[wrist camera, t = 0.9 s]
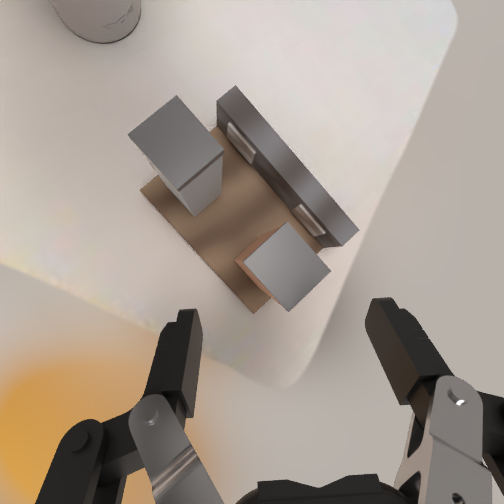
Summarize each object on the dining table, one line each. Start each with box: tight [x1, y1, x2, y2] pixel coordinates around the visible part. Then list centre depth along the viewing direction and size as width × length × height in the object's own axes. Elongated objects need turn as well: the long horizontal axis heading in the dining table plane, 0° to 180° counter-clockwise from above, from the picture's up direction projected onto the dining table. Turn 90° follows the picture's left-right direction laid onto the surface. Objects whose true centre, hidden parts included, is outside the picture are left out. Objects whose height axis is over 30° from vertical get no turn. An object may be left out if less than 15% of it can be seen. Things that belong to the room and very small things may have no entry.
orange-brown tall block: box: [234, 221, 331, 312], centre depth 24 cm, size 5×4×13 cm
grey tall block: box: [128, 95, 224, 217], centre depth 24 cm, size 5×4×13 cm
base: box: [140, 85, 359, 314], centre depth 29 cm, size 19×14×6 cm
